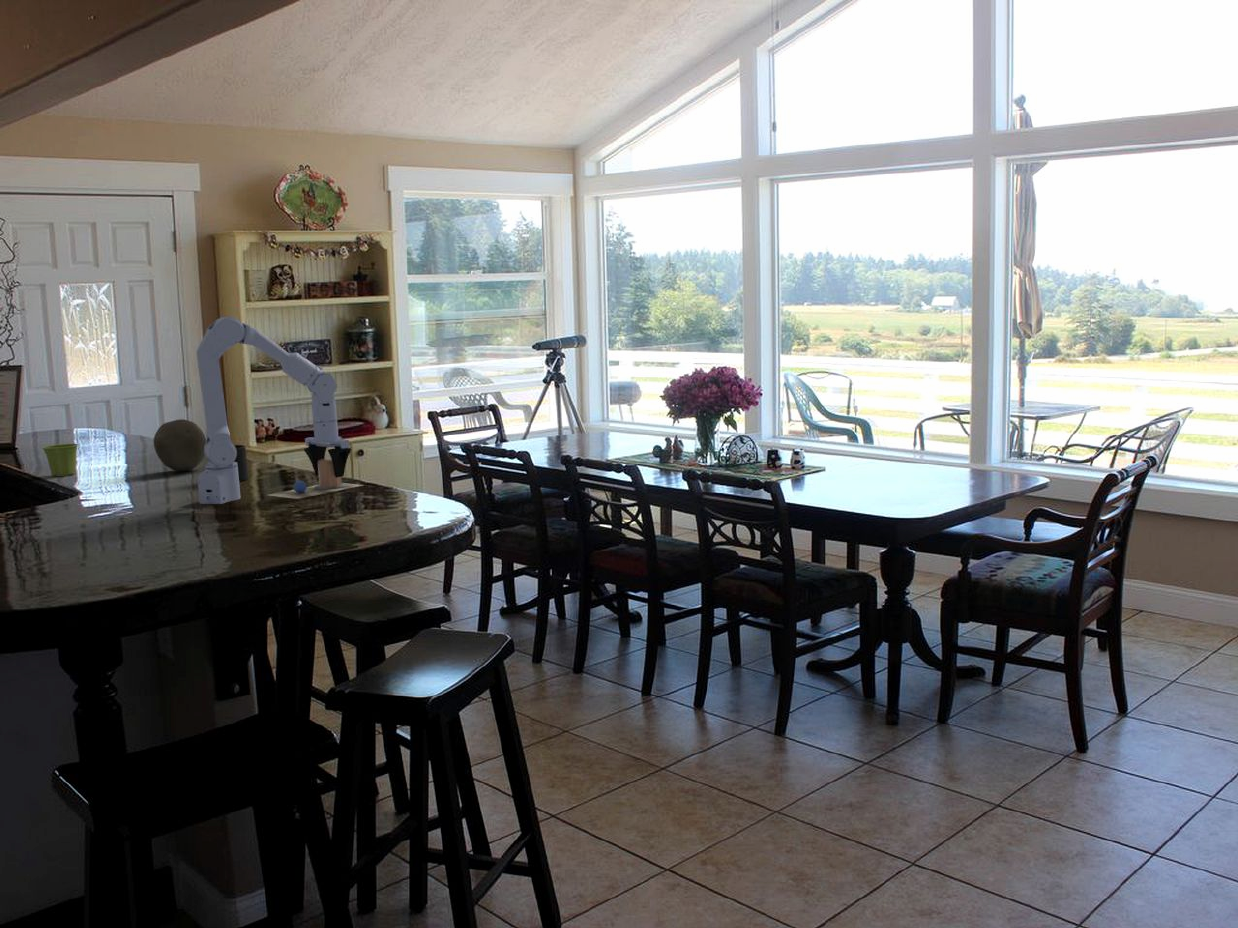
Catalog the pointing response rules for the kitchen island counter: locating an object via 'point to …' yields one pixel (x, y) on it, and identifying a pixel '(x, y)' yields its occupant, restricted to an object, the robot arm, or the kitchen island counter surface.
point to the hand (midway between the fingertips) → (329, 475)
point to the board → (313, 491)
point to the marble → (300, 486)
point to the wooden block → (327, 474)
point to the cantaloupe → (180, 444)
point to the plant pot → (61, 459)
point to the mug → (241, 462)
